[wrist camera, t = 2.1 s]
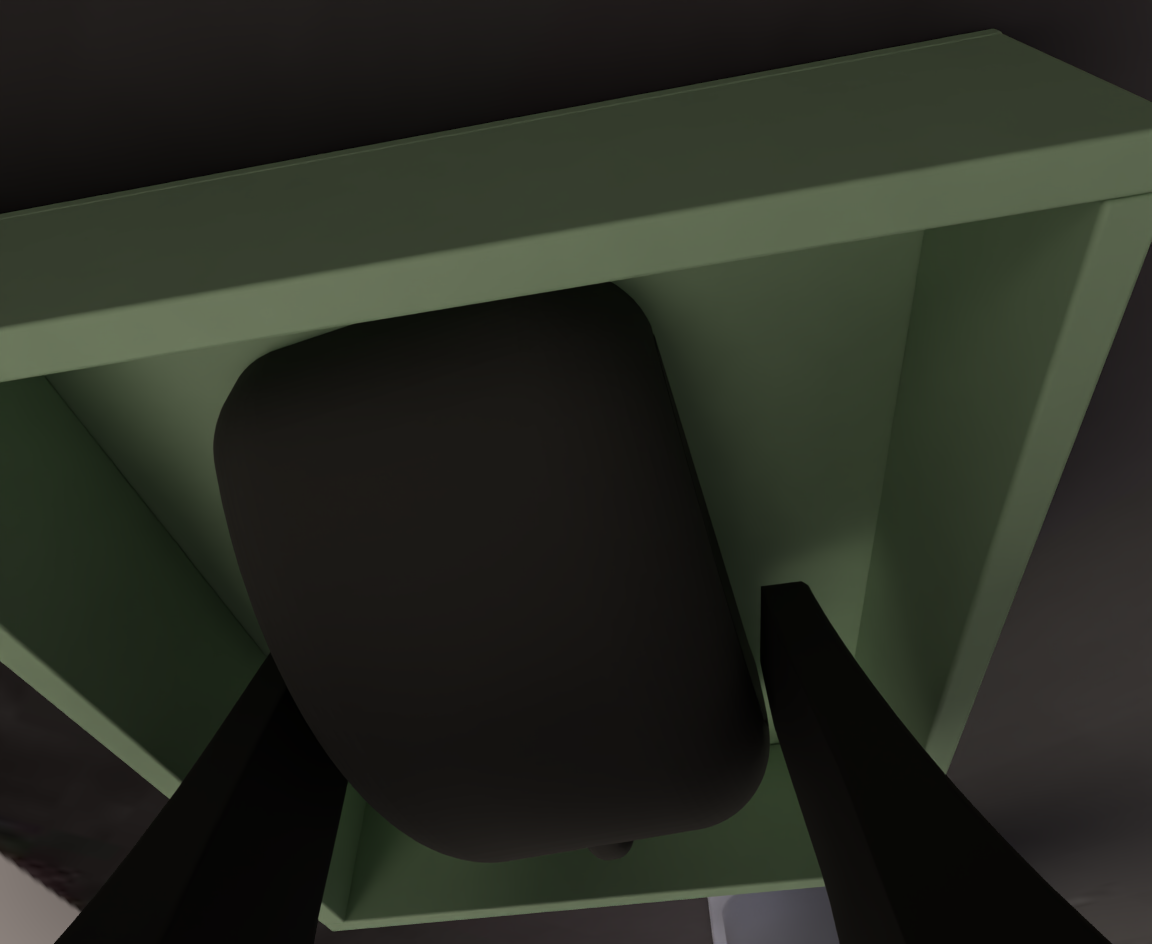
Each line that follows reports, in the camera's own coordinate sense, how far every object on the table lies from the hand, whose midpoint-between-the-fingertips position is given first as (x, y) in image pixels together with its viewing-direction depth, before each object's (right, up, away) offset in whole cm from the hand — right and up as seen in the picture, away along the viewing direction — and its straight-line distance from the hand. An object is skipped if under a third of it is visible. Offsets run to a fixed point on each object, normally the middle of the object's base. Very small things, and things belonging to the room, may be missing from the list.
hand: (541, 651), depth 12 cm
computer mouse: (0, +1, +1) cm, 2 cm away
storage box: (0, +1, +1) cm, 2 cm away
